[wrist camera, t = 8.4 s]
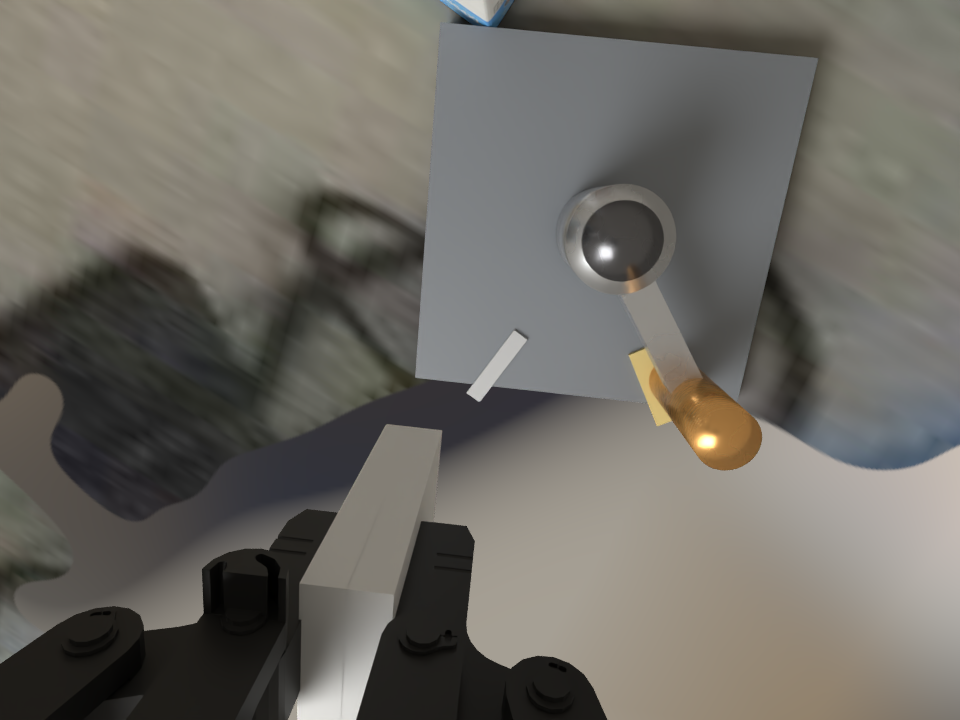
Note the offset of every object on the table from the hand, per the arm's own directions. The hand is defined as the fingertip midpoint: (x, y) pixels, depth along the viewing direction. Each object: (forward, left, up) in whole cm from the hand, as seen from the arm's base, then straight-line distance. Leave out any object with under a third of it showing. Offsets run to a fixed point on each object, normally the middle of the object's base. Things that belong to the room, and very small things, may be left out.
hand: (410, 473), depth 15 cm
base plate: (+7, +6, -22) cm, 24 cm away
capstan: (+10, +2, -20) cm, 22 cm away
